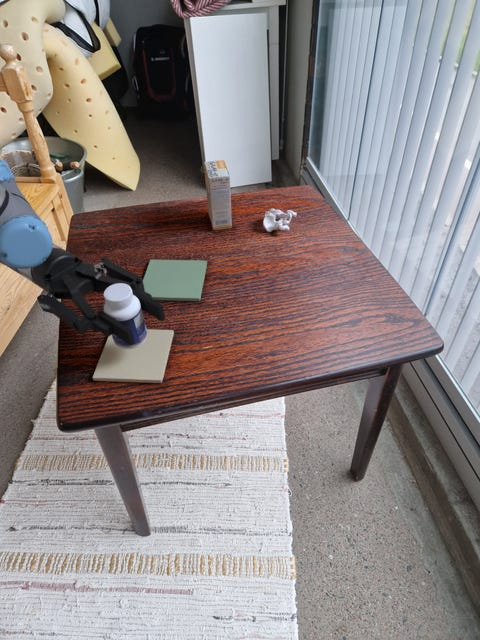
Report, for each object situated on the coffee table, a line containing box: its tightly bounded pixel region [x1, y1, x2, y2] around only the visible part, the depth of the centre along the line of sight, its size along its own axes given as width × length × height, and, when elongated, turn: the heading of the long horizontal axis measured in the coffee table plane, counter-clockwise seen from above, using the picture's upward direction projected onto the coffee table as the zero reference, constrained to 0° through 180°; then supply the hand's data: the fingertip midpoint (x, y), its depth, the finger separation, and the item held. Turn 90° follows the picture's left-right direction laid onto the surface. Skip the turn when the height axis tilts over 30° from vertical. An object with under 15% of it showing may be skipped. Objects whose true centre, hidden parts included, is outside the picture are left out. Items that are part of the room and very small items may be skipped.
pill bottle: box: [103, 283, 148, 349], centre depth 64 cm, size 5×5×10 cm
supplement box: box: [203, 159, 233, 231], centre depth 96 cm, size 8×5×13 cm, turn 11°
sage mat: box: [142, 259, 208, 302], centre depth 84 cm, size 12×12×1 cm
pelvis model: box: [262, 207, 298, 233], centre depth 97 cm, size 8×4×7 cm
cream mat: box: [92, 328, 175, 384], centre depth 70 cm, size 11×11×1 cm
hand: (147, 325), depth 61 cm, fingers closed on pill bottle, 5 cm apart
